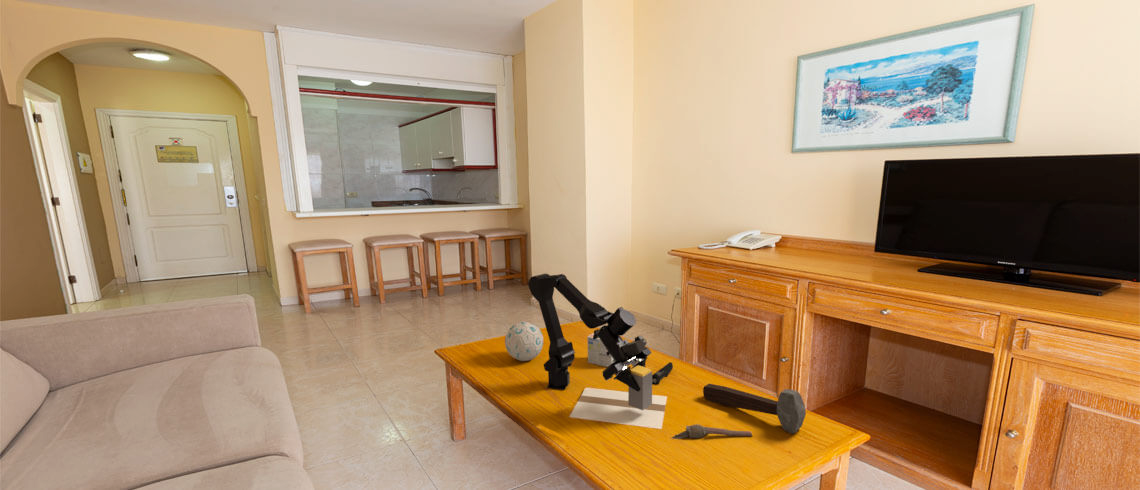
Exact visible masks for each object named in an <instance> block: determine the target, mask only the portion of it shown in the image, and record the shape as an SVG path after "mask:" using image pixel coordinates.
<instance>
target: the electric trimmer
mask: <svg viewBox="0 0 1140 490" xmlns="http://www.w3.org/2000/svg"><path fill="white" fill-rule="evenodd" d="M673 368H674V365H673V362H668V363H667V364H665V365H664V366H663V367H662V368H660V369H658V370H657V371H656V372H655V373H652V385H654V386H657V385H660V382H661V380H663V378H664V377H666V376H667V377H668V376H669V375H670V373H671V372H672V370H673Z"/></svg>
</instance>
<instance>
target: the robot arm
mask: <svg viewBox="0 0 1140 490" xmlns="http://www.w3.org/2000/svg"><path fill="white" fill-rule="evenodd" d="M527 285H528V288H529V291H530V294H531V296H532V297H533V298H534V299H535V300H536V301H537V302H538V305H539V308H540V311H541V316H542V319H543V322H544V325H545V328H546V329H545V330H546V332H547V336H548V340H549V347H548V358H549V359H547V360H546V361H545V363H543V369H544V371H545V372H547V373H548V375H547V377H548V380H547V381H548V383H547V384H546V385H547V386H546V388H547V389H551V390H552V389H553V390H563V391H565V390H566V389H567V387H568V386H569V385H570V380H571V379H570V378H571V377H570V376H571V375H570V371H569V367H571V366H572V364H573V362H574V360H575V359H576V356H575V354H576V351H575V349H574V346H573V343H572V341H569V342H568V340H567V339H565V337H564V333H563V330H562V327H561V323H560V319H559V316H558V312H557V309H556V305H555V302H554V292H555V290H557V292H558V293H560V294H561V295H562V296H563V298H564V299H566V300H567V301H568V303H570V305H572V306H573V308H575V310H577V312H578V313H579V314H578V315H579V318H580V319H581V321H582V322H583V324H584V325H585V326H586V327H587V328H588V329H591V330H592V329H593V333H594V335H593V339H594V340H595V339H597V338H600V340H601V341H602V343H603V344H604V346H605V347H606V349H607V350H608V352H606V354H607V356H608V355H611V356H612V358H613V359H614V361H615V362H614V363H612V364H611V365H609V366H608V367H605V368H604V370H602V377H603V378H604V380H605V381H606V382H607V381H609V380H611V379H612V378H613V380H616V381H619V382H620V383H623V384H625V385H626V386H628V388H629V387H631V388H633V389H634V390H636V391H637V392H638V391H640V388H639V386H638V384H637V382H636V381H635V379H634V377H633V376H632V374H631V369H632V368H634V367H636V366H638V365H639V366H643V367H646V362H647V359H648V357H649V356H651V354H652V351H651V350H650V348H649V347H648V346H646V345H647V343H648V342H647V341H646V339H645V338H644V337H643V335H642V334H641V335H637V336H636V337H634V340H633V341H631V342H629V340H628V339H623V337H622V336H624V335H625V334H626V333H627V332H629V330H631V329H632V328H633V327H634V326H635V325H636V324H637V321H636V320H637V319H636V317H635V315H634V314H633V313H631V312H630V311H629V310H627V309H624V308H623V307H622V306H621V307H618V308H617V309H616V310H615V311H614V312H611V311H608V310H607V309H606V308H605V307H604V306H602V305H601V304H599V303H598V302H595V301H592V300H590V299H589V298H588V297H586V296H585V294H583V293H582V292H581V291H580V290H579V289H578V288H577V287H576V286H575V285H574V284H573V283H572V282H571V281H570V280H569V279H568V278H567V276H566V275H565V274H564V273H561V274H560V273H559V274H552V275H550V274H548V273H541V274H537V275H534V276H531V277H530V278H529V280H528V282H527ZM598 327H599V328H598ZM596 328H597V329H596ZM594 329H595V330H594ZM631 366H632V367H631ZM646 368H647V367H646Z"/></svg>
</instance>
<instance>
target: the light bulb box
mask: <svg viewBox="0 0 1140 490" xmlns="http://www.w3.org/2000/svg"><path fill="white" fill-rule="evenodd" d="M593 335H594V332H593V333H591V334H589V335H587V364H593V365H597V366H601V367H605V368H607V367H608V366H609V365H611V364H612V363H614V362H615V361H614V359H613V358H612V356H611V355H608V356H607V354H606V352H608V350H607V349H606V347H605V346H604V344H603V343H602V341H601V340H600V338H597V339H595V340H594V339H593Z"/></svg>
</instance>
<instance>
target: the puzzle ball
mask: <svg viewBox="0 0 1140 490" xmlns="http://www.w3.org/2000/svg"><path fill="white" fill-rule="evenodd" d="M543 335H544V334H543V333H542V331H541V330H540V328H539V327H538V326H537V325H535V324H533V323H531V322H529V321H528V322H527V321H523V322H521V321H520V322H517V323H516V324H514V325H512V326H511V327H510V328H509V330H508V331H507V333H506V335H505V338H504V345H505V349H506V351H507V353H508V354H509V356H511V357H512V358H513V359H516V360H518V361H520V362H527V361H531V360H533V359H535V358H536V357H537V356H538V355H540V354H541V351H542V349H543V346H544V336H543Z"/></svg>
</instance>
